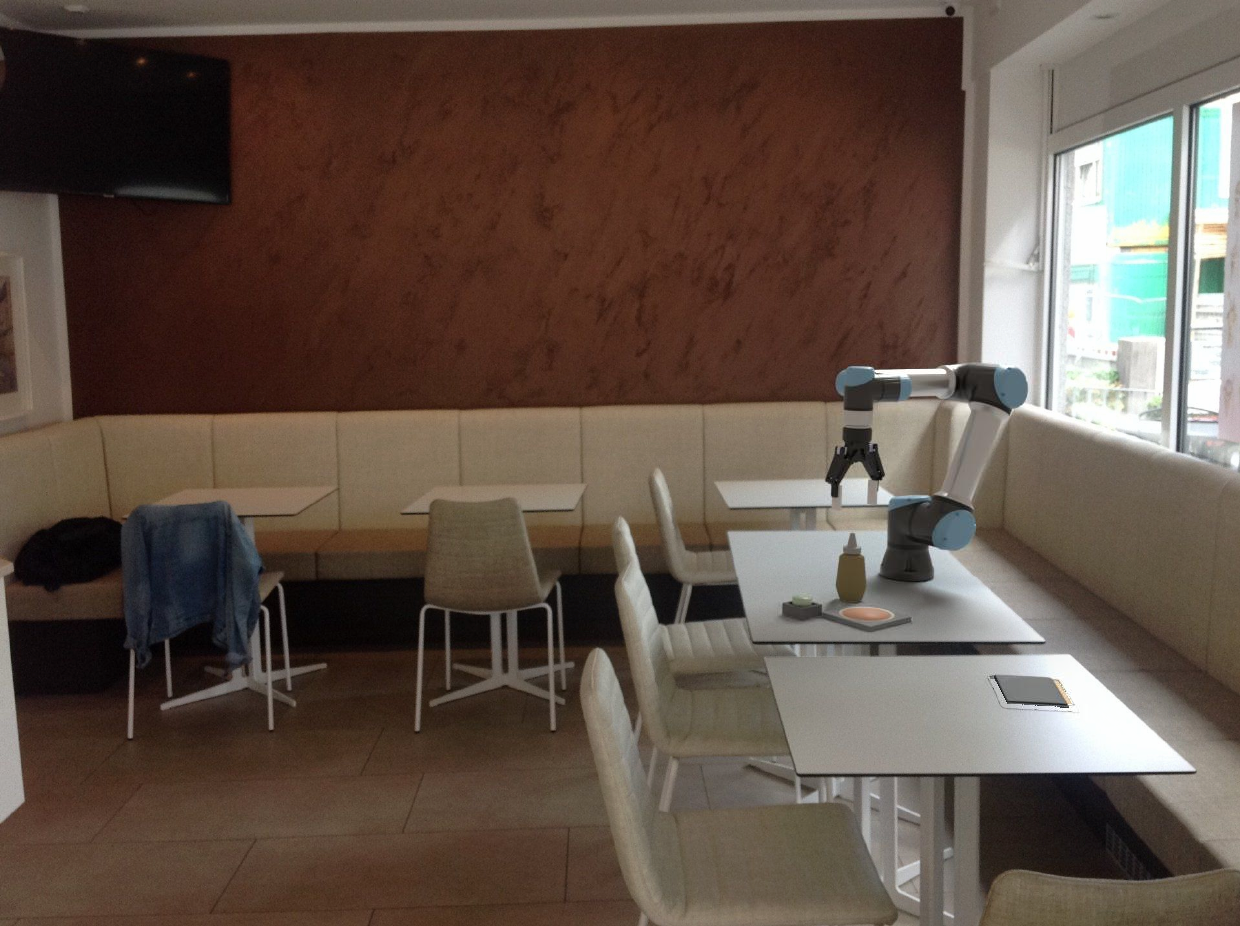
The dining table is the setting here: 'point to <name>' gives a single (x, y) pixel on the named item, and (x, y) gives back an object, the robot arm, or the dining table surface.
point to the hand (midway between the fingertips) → (854, 507)
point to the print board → (866, 616)
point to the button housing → (802, 611)
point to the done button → (802, 600)
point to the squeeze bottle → (851, 572)
